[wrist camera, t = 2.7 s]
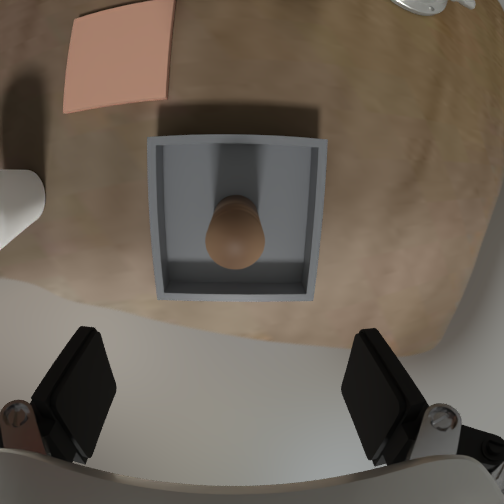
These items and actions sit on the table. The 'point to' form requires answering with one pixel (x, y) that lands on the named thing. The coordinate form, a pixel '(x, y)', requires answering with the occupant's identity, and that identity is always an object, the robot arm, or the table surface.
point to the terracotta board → (120, 56)
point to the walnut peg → (235, 233)
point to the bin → (245, 184)
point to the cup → (19, 202)
